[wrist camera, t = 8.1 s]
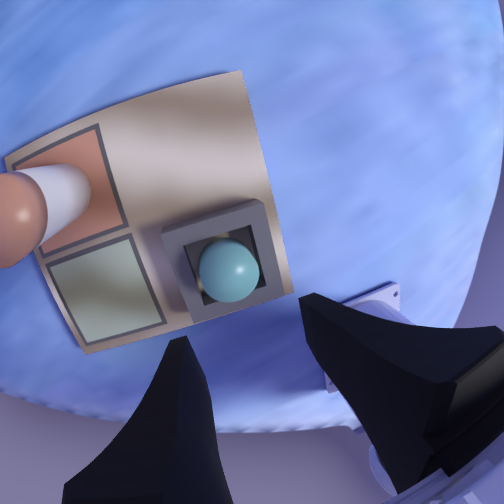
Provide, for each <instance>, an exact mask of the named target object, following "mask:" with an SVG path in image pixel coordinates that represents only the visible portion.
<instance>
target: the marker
mask: <svg viewBox="0 0 504 504" xmlns="http://www.w3.org/2000/svg"><path fill="white" fill-rule="evenodd" d="M90 198H91V186H90V182H89V179H88V177H87V175H86V174H85V173H84V171H83V170H82V169H80V168H79V167H78V166H76V165H74V164H70V163H62V164H55V165H48V166H41V167H34V168H28V169H22V170H16V171H11V172H5V173H0V268H8V267H11V266H13V265H15V264H16V263H18V262H19V261H20V260H21V259H23V258H24V257H25V256H27V255H28V254H29V253H30V252H32V251H33V250H34V249H36V248H37V247H38V246H40V245H41V244H42V243H44V242H45V241H46V240H48V239H49V238H51V237H52V236H53V235H55V234H56V233H57V232H59V231H60V230H62V229H63V228H65V227H66V226H67V225H69V224H70V223H72V222H73V221H75V220H76V219H78V218H79V217H80V216H81V215H83V213H84V212H85V211H86V209H87V207H88V205H89V202H90Z"/></svg>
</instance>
